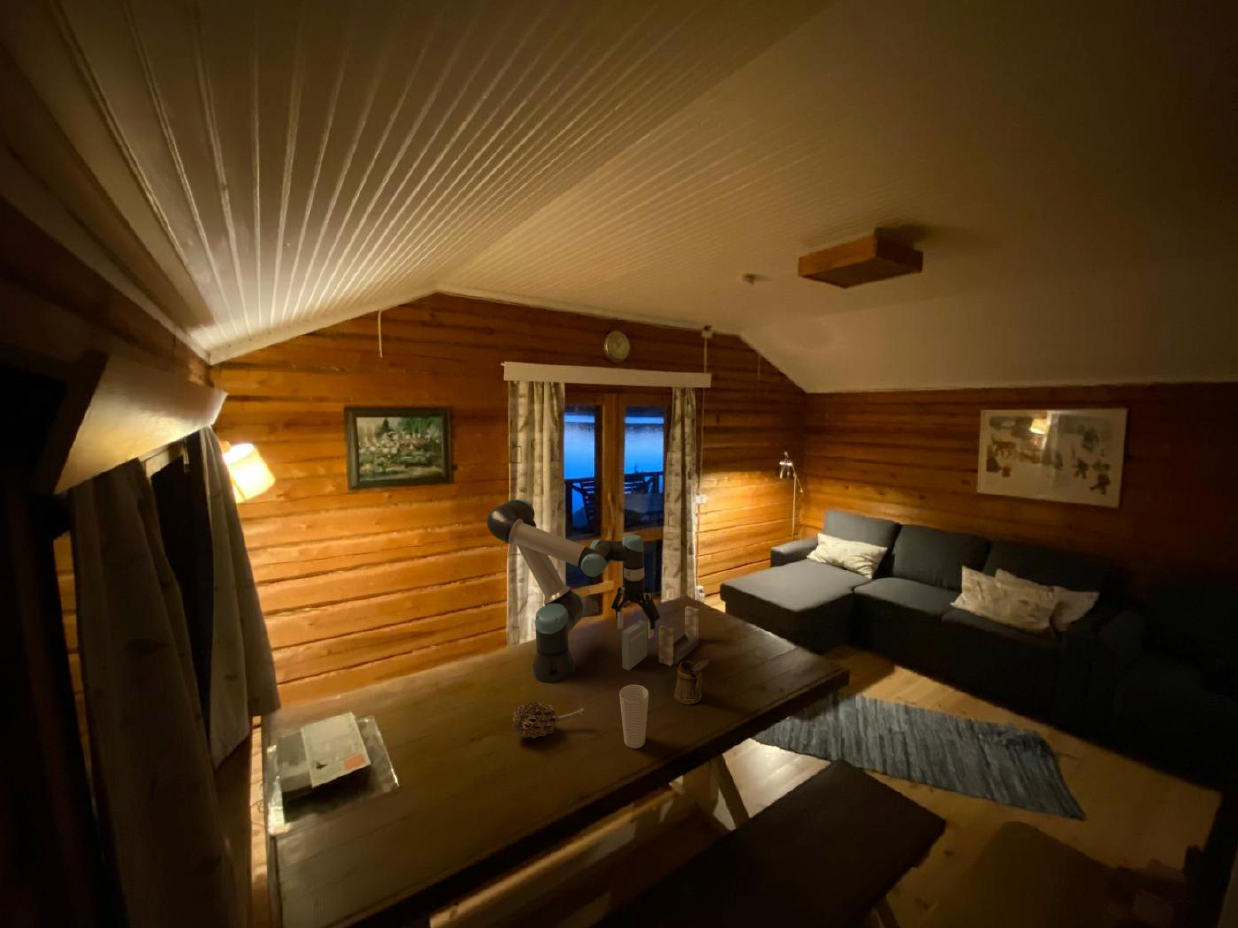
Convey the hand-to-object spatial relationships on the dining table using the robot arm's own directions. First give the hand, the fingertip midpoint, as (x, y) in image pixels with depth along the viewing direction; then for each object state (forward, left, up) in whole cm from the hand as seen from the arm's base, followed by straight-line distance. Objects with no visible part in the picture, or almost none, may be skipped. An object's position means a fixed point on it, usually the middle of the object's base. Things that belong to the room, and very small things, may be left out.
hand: (635, 632), depth 190 cm
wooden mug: (+28, -9, -12) cm, 32 cm away
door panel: (0, 0, -12) cm, 12 cm away
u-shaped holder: (+10, +16, -12) cm, 22 cm away
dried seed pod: (+1, -47, -12) cm, 49 cm away
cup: (+24, -36, -12) cm, 45 cm away
